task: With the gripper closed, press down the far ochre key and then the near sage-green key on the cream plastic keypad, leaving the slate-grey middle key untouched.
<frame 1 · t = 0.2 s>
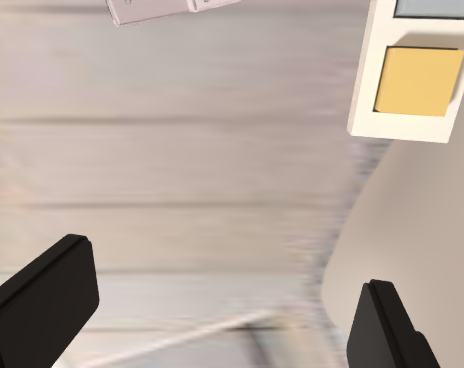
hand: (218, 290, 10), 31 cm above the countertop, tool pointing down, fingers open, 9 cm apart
key ochre: (415, 82, 31), point 4 cm above the countertop, slide at 0.0 cm
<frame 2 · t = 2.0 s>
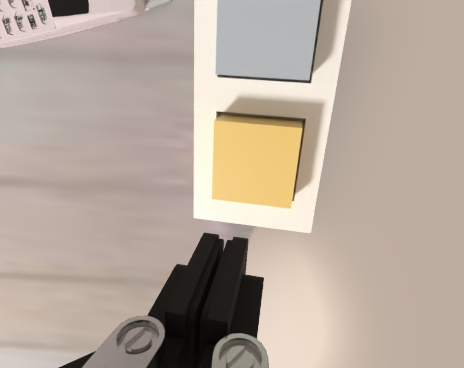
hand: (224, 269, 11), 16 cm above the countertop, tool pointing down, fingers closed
mobile phone: (31, 5, 26), on the countertop
key slate: (267, 26, 19), point 4 cm above the countertop, slide at 0.0 cm
key ochre: (255, 160, 23), point 4 cm above the countertop, slide at 0.0 cm
keypad: (270, 31, 23), on the countertop
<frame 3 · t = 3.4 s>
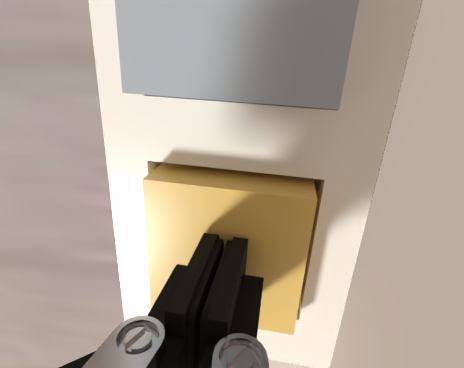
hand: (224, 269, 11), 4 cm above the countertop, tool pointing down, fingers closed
key ochre: (228, 243, 13), point 3 cm above the countertop, slide at 0.9 cm, touching gripper
keypad: (253, 5, 12), on the countertop
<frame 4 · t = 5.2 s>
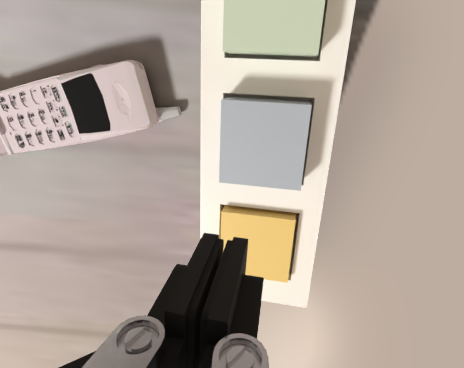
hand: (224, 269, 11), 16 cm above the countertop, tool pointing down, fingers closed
mobile phone: (58, 113, 29), on the countertop
key slate: (263, 142, 22), point 4 cm above the countertop, slide at 0.0 cm
key sage: (274, 2, 19), point 4 cm above the countertop, slide at 0.0 cm
key ochre: (256, 240, 27), point 3 cm above the countertop, slide at 1.2 cm
keypad: (267, 133, 26), on the countertop
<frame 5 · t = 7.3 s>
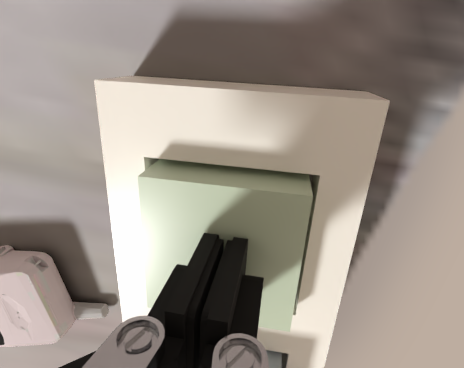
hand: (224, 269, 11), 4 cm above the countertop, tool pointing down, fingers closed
key sage: (225, 241, 13), point 3 cm above the countertop, slide at 0.8 cm, touching gripper
keypad: (227, 338, 19), on the countertop
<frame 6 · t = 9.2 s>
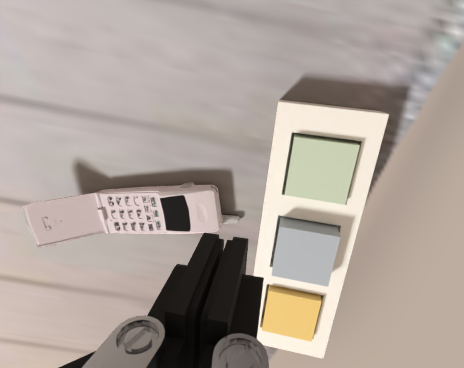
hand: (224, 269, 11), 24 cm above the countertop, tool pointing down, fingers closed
mobile phone: (144, 204, 40), on the countertop
key slate: (304, 250, 33), point 4 cm above the countertop, slide at 0.0 cm
key sage: (319, 168, 31), point 3 cm above the countertop, slide at 1.2 cm
key ochre: (290, 309, 37), point 3 cm above the countertop, slide at 1.2 cm
keypad: (302, 234, 36), on the countertop
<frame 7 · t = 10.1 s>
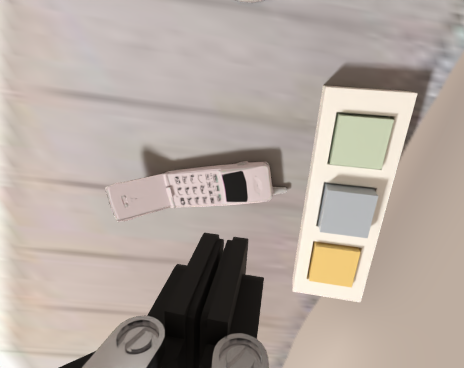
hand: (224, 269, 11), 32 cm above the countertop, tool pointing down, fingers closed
mobile phone: (202, 182, 46), on the countertop
key slate: (346, 210, 40), point 4 cm above the countertop, slide at 0.0 cm
key sage: (358, 140, 37), point 3 cm above the countertop, slide at 1.2 cm
key ochre: (332, 261, 44), point 3 cm above the countertop, slide at 1.2 cm
keypad: (341, 198, 43), on the countertop
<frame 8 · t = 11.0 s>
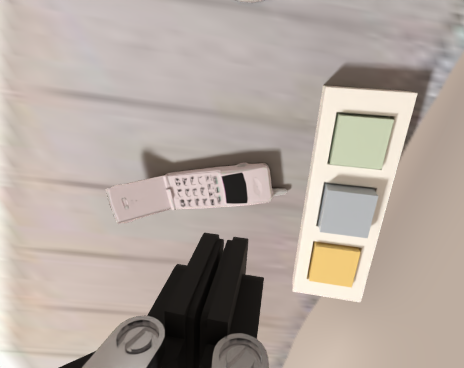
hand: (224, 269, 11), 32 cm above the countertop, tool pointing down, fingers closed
mobile phone: (202, 184, 47), on the countertop
key slate: (346, 210, 40), point 4 cm above the countertop, slide at 0.0 cm
key sage: (358, 140, 37), point 3 cm above the countertop, slide at 1.2 cm
key ochre: (332, 261, 44), point 3 cm above the countertop, slide at 1.2 cm
keypad: (341, 198, 43), on the countertop
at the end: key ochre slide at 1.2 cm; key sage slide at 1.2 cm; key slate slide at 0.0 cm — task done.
